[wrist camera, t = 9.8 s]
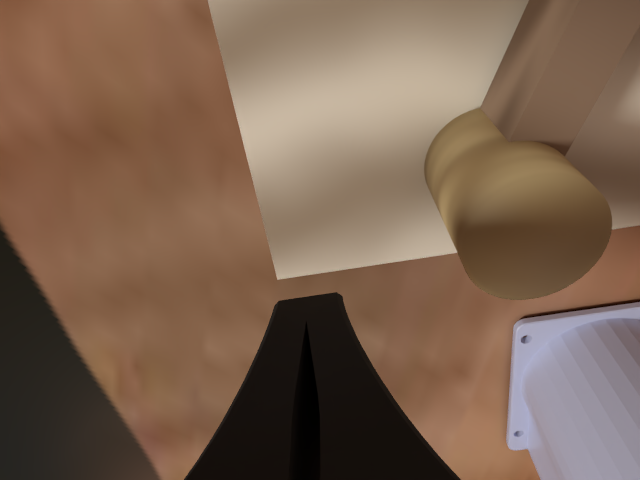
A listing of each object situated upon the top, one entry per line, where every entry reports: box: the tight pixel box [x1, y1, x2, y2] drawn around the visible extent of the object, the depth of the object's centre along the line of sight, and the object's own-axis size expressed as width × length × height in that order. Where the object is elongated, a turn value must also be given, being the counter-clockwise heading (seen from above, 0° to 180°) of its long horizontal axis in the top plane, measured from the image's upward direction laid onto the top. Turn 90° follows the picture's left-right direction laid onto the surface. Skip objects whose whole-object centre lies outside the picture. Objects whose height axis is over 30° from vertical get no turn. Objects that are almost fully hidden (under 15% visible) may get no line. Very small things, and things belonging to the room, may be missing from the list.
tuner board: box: [208, 0, 640, 280], centre depth 17 cm, size 18×16×1 cm
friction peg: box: [424, 0, 640, 300], centre depth 14 cm, size 15×4×5 cm, turn 164°
